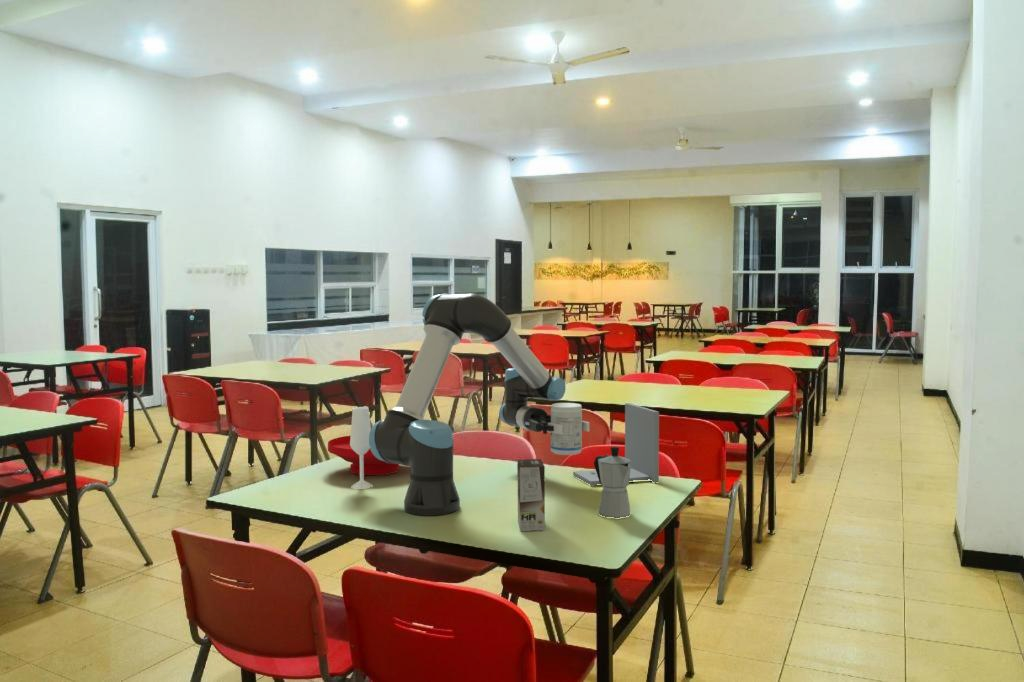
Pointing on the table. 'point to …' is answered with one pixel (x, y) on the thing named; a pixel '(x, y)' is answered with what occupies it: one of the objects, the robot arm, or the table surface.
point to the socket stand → (636, 445)
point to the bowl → (370, 461)
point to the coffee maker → (613, 484)
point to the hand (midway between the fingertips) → (575, 428)
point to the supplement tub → (567, 428)
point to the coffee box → (531, 494)
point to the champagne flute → (360, 440)
